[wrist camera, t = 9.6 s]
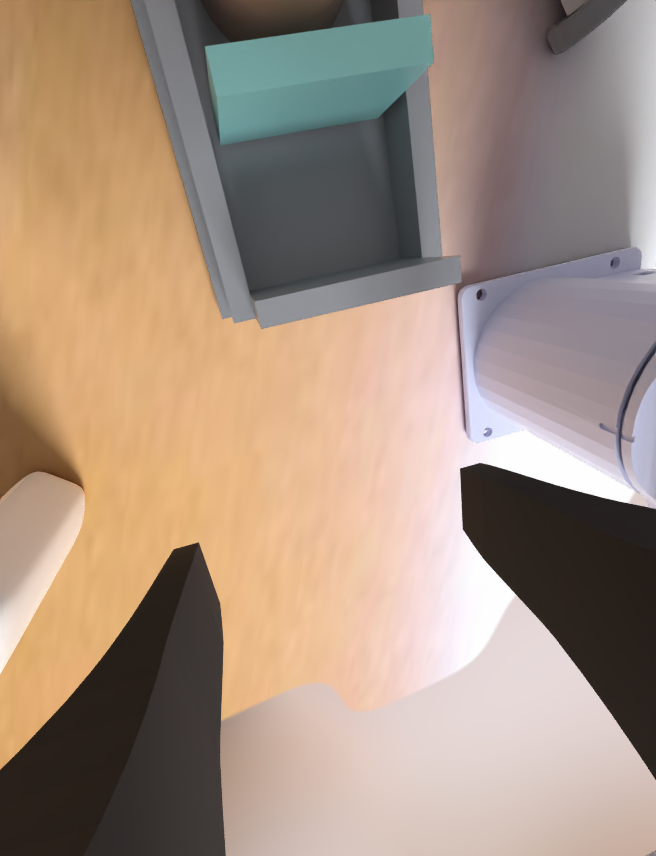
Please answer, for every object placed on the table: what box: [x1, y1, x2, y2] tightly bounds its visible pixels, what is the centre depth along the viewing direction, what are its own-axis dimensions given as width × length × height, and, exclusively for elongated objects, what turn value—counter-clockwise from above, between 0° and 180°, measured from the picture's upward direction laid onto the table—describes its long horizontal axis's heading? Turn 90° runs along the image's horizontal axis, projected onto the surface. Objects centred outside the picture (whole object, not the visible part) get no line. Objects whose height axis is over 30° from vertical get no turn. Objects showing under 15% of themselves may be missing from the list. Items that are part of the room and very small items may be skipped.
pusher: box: [205, 14, 434, 146], centre depth 13 cm, size 6×1×5 cm, turn 101°
